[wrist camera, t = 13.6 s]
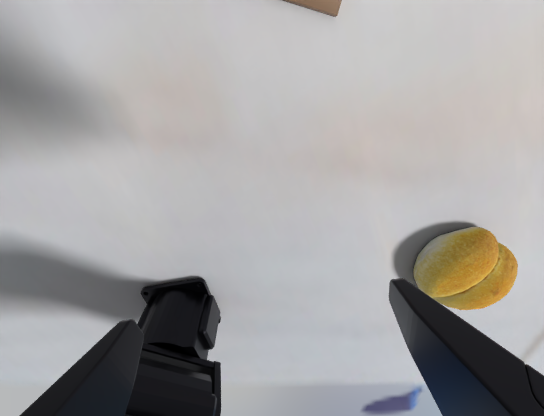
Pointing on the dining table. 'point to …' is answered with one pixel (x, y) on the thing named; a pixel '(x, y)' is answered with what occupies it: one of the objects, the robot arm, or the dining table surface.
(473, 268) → the bread roll
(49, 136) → the dining table surface
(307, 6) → the serving tray
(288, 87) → the dining table surface
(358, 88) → the dining table surface
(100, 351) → the robot arm
